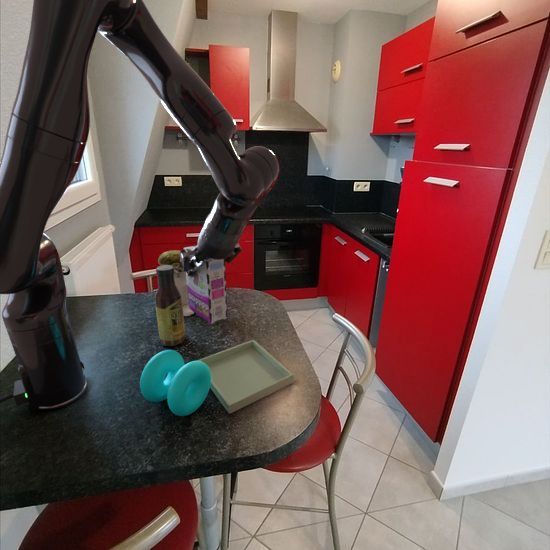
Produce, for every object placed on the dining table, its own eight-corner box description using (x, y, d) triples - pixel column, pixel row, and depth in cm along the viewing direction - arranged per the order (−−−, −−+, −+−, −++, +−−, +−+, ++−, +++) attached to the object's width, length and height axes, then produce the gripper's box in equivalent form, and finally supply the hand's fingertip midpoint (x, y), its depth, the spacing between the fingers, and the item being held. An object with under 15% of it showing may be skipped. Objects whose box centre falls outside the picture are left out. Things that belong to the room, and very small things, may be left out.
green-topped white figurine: (156, 303, 102) (148, 247, 95) (197, 297, 106) (192, 243, 99) (157, 320, 92) (147, 260, 85) (202, 313, 96) (196, 255, 89)
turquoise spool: (179, 430, 56) (173, 385, 53) (140, 409, 61) (132, 366, 57) (216, 395, 64) (212, 353, 61) (179, 378, 69) (174, 339, 65)
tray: (229, 414, 60) (228, 405, 59) (195, 368, 72) (195, 361, 71) (293, 382, 68) (293, 374, 67) (253, 346, 80) (253, 339, 79)
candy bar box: (229, 318, 78) (226, 253, 72) (211, 325, 74) (206, 258, 68) (205, 303, 85) (200, 243, 79) (188, 308, 82) (182, 247, 76)
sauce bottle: (178, 349, 79) (169, 274, 72) (155, 346, 80) (143, 271, 73) (190, 335, 85) (182, 264, 78) (168, 332, 86) (159, 262, 79)
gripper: (245, 213, 69) (223, 253, 82) (180, 221, 61) (167, 263, 75) (259, 243, 67) (234, 278, 80) (193, 255, 59) (177, 292, 73)
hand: (202, 271), depth 77 cm, fingers closed on candy bar box, 5 cm apart
